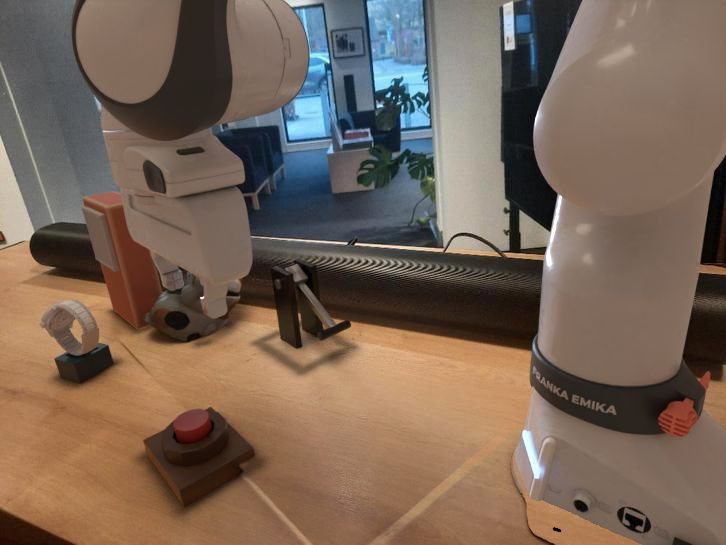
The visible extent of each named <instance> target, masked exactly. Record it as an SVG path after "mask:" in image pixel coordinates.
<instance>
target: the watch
mask: <svg viewBox="0 0 726 545" xmlns="http://www.w3.org/2000/svg"><path fill="white" fill-rule="evenodd" d="M75 320H76V321H77V322H78V324H79V325H80V328H81V330H82V334H81V342H80V341H79V340H78V339H77V338H76V337H75V335H74V333H72V331H71V329H72V328H73V327H74V321H75ZM39 326H40V328H42V329H45V330H46V332H47V334H48V335H49V336H50V337H52V338H54V340H55V342H56V343H57V345H59V346H60V347H61V348H62V349H63V350H64V351H65V352H64V353H62V354H61V355H59V356H56V357H54V358H53V359H54V362H55V365H56V368H57V371H58V373H59V376H60V378H61V379H65V380H68V381H71V382H75V383H77V384H81V383H83V382H85V381H87V380H88V379H90V378H92V377H93V376H95V375H97V374H98V373H100V372H102V371H103V370H105V369H107V368H108V367H110V366H112V365H113V364H114V363H115V362H114V359H113V356H112V352H111V349H110V345H109V344H107V343H102V342H99V341H100V328H99V327H98V324H97V321H96V319H95V316H94V315H93V313H92V311H91V310H90V309H89V308H88V307H87V305H85V304H84V303H83V302H82V301H81V300H78V299H74V298H70V299H63V300H59V301H57V302H55V303H53V304H52V305H51V306H49V307H48V308H47V309H46V311H45V312H44V313H43V314H42V317H41V319H40V322H39Z"/></svg>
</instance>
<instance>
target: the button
mask: <svg viewBox="0 0 726 545" xmlns="http://www.w3.org/2000/svg"><path fill="white" fill-rule="evenodd" d="M173 421H174V423H173V426H174V430H175V434H176V438H177V440H178V441H179V442H180V443H182V444H190V443H196V442H199V441H200V440H202V439H204V438H206V437H208V436H209V435H210V433H211V431H212V426H211V421H210V417H209V413H208V412H207V411H206V410H205V409H204V408H203V409H202V408H193V409H189V410H186V411H184V412H181V413H179V415H177V416H176V417H175V419H173Z"/></svg>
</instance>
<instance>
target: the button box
mask: <svg viewBox="0 0 726 545" xmlns="http://www.w3.org/2000/svg"><path fill="white" fill-rule="evenodd" d="M204 410H206V411H207V412H208V413H209V417H210V421H211V426H212V431H211V433H210V435H209V436H208V437H206V438H204V439H202V440H200V441H199V442H196V443H190V444H182V443H180V442H179V441H178V440H177V438H176V434H175V430H174V426H173V423H174V420H172V421H171V422H170V423H169V424H168V425H167V426H166V427H165V428H164V429H163V430H161V431H158V432H157V433H155V434H152V435H150V436H148V437H146V438H144V439H143V440H142V441H143V445H144V448H145V451H146V455H147V457H148V459H149V460H150V461H151V463H152V464H153V466H154V467H155V468H156V470H157V471H158V473H159V474H160V475H161V477H162V478H163V480H164V481H165V482H166V484H167V485H168V487H169V488H170V490H171V491H172V492H173V494H174V495H175V497H176V498H177V500H178V501H179V502H180V504H181V505H182V506H183V507H184V508H185V507H187V506H188V505H191V504H192V503H193V502H195V501H197V500H198V499H201V498H202V497H204V496H205V495H207V494H208V493H210V492H212V491H213V490H215V489H216V488H218V487H220V486H222V485H224V484H226V483H227V482H229V481H230V480H232V479H234V478H235V477H237V476H238V475H241V474H242V473H244V469H242V467H240V464H242V463H244V462H245V461H247V460H249V459H250V458H252V457H254V456H255V455H256V454H255V448H254V447H253V445H252V444H250V443H249V442H248V441H247V440H246V439H245V438H244V437H243V436H242V435H241V434H240V433H239V432H238V431H237V430H236V429H235V428H234V427H232V425H231V424H229V422H228V421H227V419H226V418H225V417H224V416H223V415H222V414H221V413H220V412H218V411H216V410H215V409H214V408H213V407H212V406H209V407H208V408H205V409H204Z"/></svg>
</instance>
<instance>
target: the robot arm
mask: <svg viewBox="0 0 726 545" xmlns="http://www.w3.org/2000/svg"><path fill="white" fill-rule="evenodd" d="M70 32H71V34H70V35H71V36H70V37H71V45H72V46H71V47H72V50H73V51H72V52H73V55H74V58H75V62H76V65H77V67H78V68H77V69H78V70H79V72H80V74H81V77H82V79H83V80H84V82H85V84H86V86H87V87H88V89H89V91H90V92H91V93H92V95H93V96H94V98H95V99H96V100H97V101H98V102H99V103H100V109H101V115H100V128H101V132H102V136H103V140H104V144H105V148H106V152H107V157H108V161H109V164H110V169H111V173H112V177H113V180H114V185H115V186H116V187H118V188H119V193H121V198H122V203H123V208H124V213H125V218H126V223H127V227H128V230H129V233H130V235H131V237H132V239H133V240H134V241H135V242H137V243H139V244H140V245H142V246H144V247H146V248H148V249H149V250H150V254H151V257H152V259H153V261H154V263H155V265H156V268H157V272H158V274H159V275H160V276H159V277H160V280H161V284H162V285H161V286H163V287H164V288H165V289H167V291H168V290H170V291H174V290H176V289H180V288H182V287H183V286H184V280H183V278H184V274H183V271H182V270H180V268H182V269H183V270H185V271H187V272H190V273H192V274H194V275H196V276H197V277H199V279H200V284H201V285H202V286H204V297H202V298H200V300H201V305H202V307H203V308H202V310H203V312H204V313H205V314H206V315H207V316H209V317H210V318H212V319H215V318H218V317H220V316H223V315H225V314H226V313H227V304H226V298H225V296H226V293H227V289H228V286H229V282H231V281H234V280H237V279H239V278H242V279H243V278H244V277H247V276H248V275H249V273H250V271H251V268H252V266H253V261H254V260H253V259H254V258H253V257H254V256H253V247H252V246H253V245H252V237H251V229H250V220H249V215H248V214H249V212H248V208H247V204H246V201H245V197H244V195H243V193H242V191H241V189H239V188H238V187H237V186H238V185H241V184H242V185H243V184H244V183H245V182H246V174H245V173H246V171H245V166H244V162H243V160H242V159H241V158H240V157H239V156H238V155H237V154H235V153H234V152H233V151H231V150H230V149H229V148H228V147H226V146H225V145H224V144H223V143H222V142H221V141H220V139H219V138H218V137H217V136H216V135H214V134H213V129H212V127H215V126H220V125H224V124H230V123H235V122H239V121H245V120H248V119H251V118H254V117H259V116H265V115H268V114H270V113H274V112H276V111H278V110H279V109H281V108H283V107H285V106H287V105H288V104H290V103H291V102H292V101H294V99H296V98H297V96H298V95H299V94H300V92H301V90H302V88H303V87H304V85H305V83H306V80H307V77H308V73H309V68H310V58H311V57H310V54H311V52H310V43H309V39H308V35H307V32H306V28H305V26H304V24H303V22H302V19H301V18H300V17H299V15H298V14H297V12H296V11H295V9H294V8H293V7H292V6H291V4H289V3H288V2H287V1H286V0H73V10H72V14H71V26H70ZM533 124H534V125H533V133H532V134H533V136H532V139H533V151H534V156H535V160H536V162H537V166H538V168H539V170H540V172H541V174H542V176H543V178H544V179H545V181H546V182H547V184H548V185H549V186H550V187H551V188H552V190H553V191H554V192H556V194H557V197H556V202H555V208H554V212H553V219H552V223H551V228H550V232H549V236H548V241H547V245H546V250H545V251H544V252H545V253H544V257H543V263H542V264H543V265H542V275H541V276H542V278H541V289H540V303H539V316H538V331H537V333H536V334H535V336H534V338H533V340H532V346H531V354H530V362H529V363H530V366H529V385H530V386H531V393H530V399H529V405H528V409H527V413H526V417H525V421H524V425H523V427H522V428H523V429H522V431H521V434H520V437H519V438H518V441H517V443H518V444H517V443H516V445H517V446H515V447H514V449H513V452H512V455H511V459H510V468H511V469H510V471H511V476H512V478H513V481H514V483H515V486H516V488H517V490H518V492H519V493H520V494H521V493H523V492H524V489H523V487H522V485H521V483H520V481H519V479H518V477H517V474H516V471H515V467H514V459H513V458H514V451H515V460H516V463H517V467H518V470H519V472H520V475H521V478H522V480H523V482H524V484H525V486H526V488H527V491H528V493H529V495H530V498H531V499H533V500H536V501H541V500H543V501H545V502H547V503H549V504H551V505H554V506H557V507H559V508H561V509H564V510H566V511H568V512H571V513H572V514H575V515H578V516H579V517H581V518H583V519H585V520H588V521H590V522H591V523H593V524H596V525H599V526H600V527H602V528H605V529H608V530H610V531H611V532H613V533H615V534H619V535H621V536H623V537H626V538H628V539H631V540H633V541H635V542H637V543H639V544H642V545H726V430H725V429H724V427H722V425H720V424H719V423H718V422H717V421H716V420H715V419H714V418H713V417H712V416H711V415H710V414H709V413H708V412H706V410H705V409H704V406H705V400H706V394H707V390H708V388H709V385H710V382H711V371H710V370H708V371H707V370H706V372H705V373H704V374H703V376H702V377H701V379H698V378H697V377H696V376H695V374H694V373H693V372H692V371H691V369H690V368H689V367H688V365H687V363H686V362H685V360H684V357H683V354H684V349H685V344H686V339H687V334H688V331H689V330H688V329H689V324H690V321H691V315H692V310H693V304H694V300H695V296H696V289H697V285H698V280H699V275H700V268H701V260H702V252H703V245H704V239H705V232H706V224H707V218H708V213H709V212H708V211H709V206H710V205H709V204H710V200H711V194H712V193H711V191H712V186H713V182H714V181H713V180H714V173H715V170H716V169H717V168H718V167H719V165H720V164H721V163H722V161H723V160H724V158H725V157H726V0H582V1H581V2H580V5H579V7H578V10H577V12H576V14H575V16H574V20H573V22H572V24H571V27H570V29H569V31H568V33H567V36H566V39H565V41H564V43H563V46H562V48H561V51H560V54H559V56H558V58H557V61H556V63H555V67H554V70H553V72H552V74H551V77H550V80H549V82H548V85H547V86H546V89H545V90H544V93H543V95H542V98H541V100H540V102H539V106H538V108H537V112H536V116H535V120H534V123H533ZM179 267H180V268H179ZM515 448H516V450H515ZM525 495H526V494H525V492H524V494H523V495H521V497H522V498H523V497H524V496H525ZM526 499H527V497H526Z"/></svg>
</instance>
